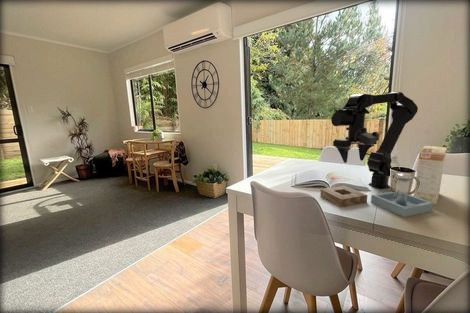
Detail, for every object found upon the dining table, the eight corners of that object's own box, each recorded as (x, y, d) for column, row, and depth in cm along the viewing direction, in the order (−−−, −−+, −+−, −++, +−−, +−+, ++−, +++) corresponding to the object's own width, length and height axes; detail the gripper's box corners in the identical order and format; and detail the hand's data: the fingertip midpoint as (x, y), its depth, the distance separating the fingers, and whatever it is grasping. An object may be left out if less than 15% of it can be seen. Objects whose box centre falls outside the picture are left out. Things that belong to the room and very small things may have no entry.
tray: (396, 197, 91) (397, 190, 90) (432, 211, 78) (433, 203, 78) (370, 202, 87) (371, 194, 86) (404, 217, 75) (405, 208, 74)
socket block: (343, 191, 98) (344, 185, 98) (366, 202, 87) (367, 195, 86) (320, 195, 95) (320, 188, 94) (341, 207, 84) (341, 199, 83)
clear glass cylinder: (398, 200, 85) (402, 172, 83) (412, 205, 81) (416, 175, 79) (389, 202, 84) (392, 173, 82) (402, 207, 80) (406, 177, 77)
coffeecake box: (418, 189, 98) (424, 145, 94) (440, 193, 93) (447, 147, 89) (412, 200, 88) (418, 151, 84) (436, 205, 83) (444, 153, 79)
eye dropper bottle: (389, 176, 117) (392, 154, 114) (385, 173, 122) (388, 152, 120) (399, 177, 116) (402, 154, 113) (394, 174, 121) (397, 152, 118)
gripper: (355, 127, 84) (352, 168, 87) (391, 125, 90) (386, 163, 93) (333, 126, 94) (331, 162, 97) (366, 123, 100) (363, 158, 103)
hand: (353, 161), depth 98 cm, fingers open, 9 cm apart
